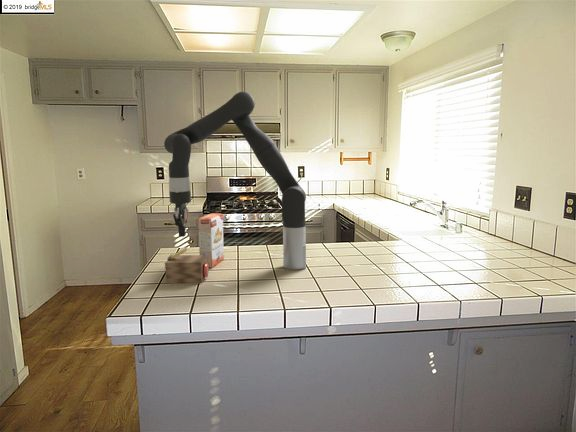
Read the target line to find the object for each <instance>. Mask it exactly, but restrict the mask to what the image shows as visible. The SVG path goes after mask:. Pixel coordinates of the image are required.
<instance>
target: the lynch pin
mask: <svg viewBox="0 0 576 432" xmlns="http://www.w3.org/2000/svg"><path fill="white" fill-rule="evenodd" d="M209 269H210V268H208V264H203V277H205V278H208V277H209Z"/></svg>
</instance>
